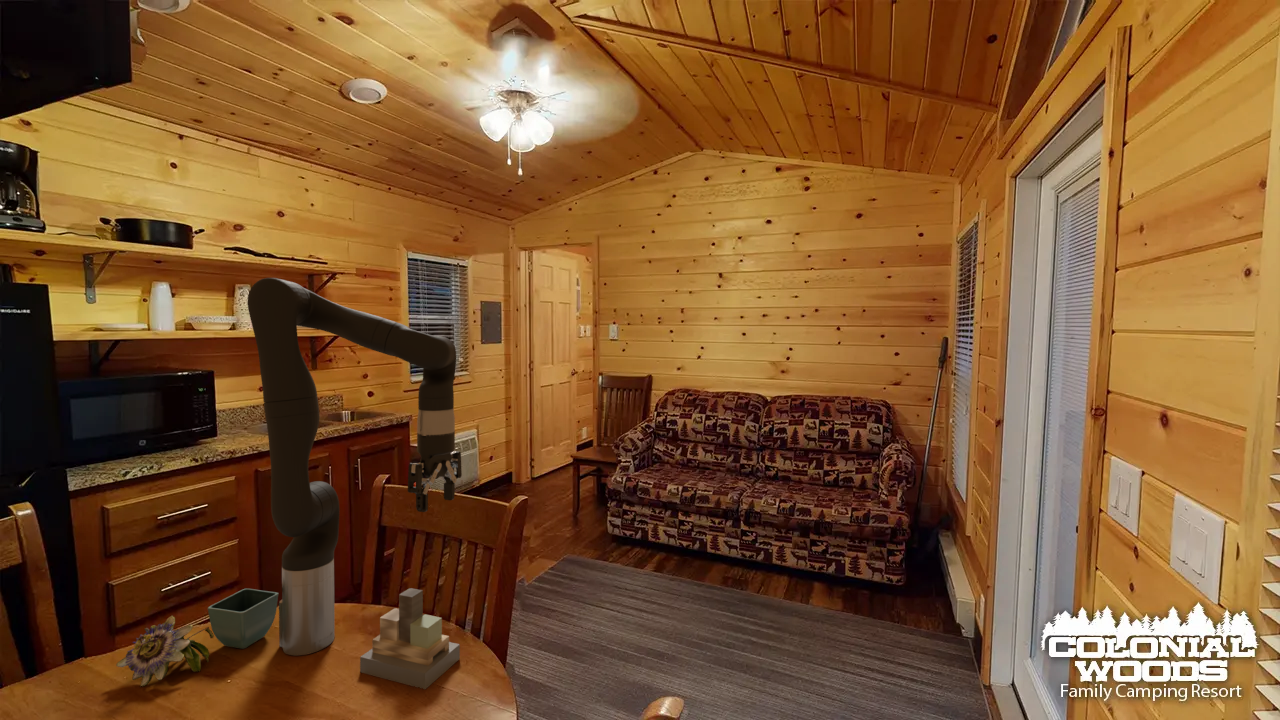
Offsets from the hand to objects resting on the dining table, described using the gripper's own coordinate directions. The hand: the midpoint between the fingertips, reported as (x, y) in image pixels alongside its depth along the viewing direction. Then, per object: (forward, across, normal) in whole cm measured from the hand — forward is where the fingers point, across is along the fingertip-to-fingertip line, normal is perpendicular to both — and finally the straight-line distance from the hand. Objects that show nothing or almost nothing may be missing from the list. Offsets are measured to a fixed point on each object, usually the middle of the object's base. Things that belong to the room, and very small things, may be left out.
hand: (436, 505), depth 117 cm
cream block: (+23, +11, -1) cm, 25 cm away
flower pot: (+28, +16, -35) cm, 48 cm away
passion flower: (+28, +28, -39) cm, 55 cm away
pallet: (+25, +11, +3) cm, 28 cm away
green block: (+23, +11, +7) cm, 26 cm away
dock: (+28, +11, +3) cm, 30 cm away
